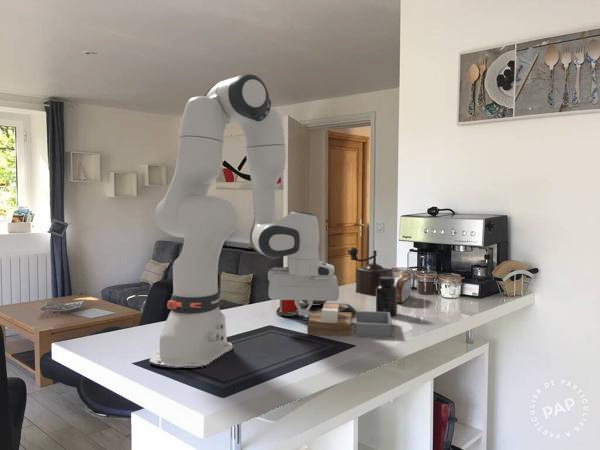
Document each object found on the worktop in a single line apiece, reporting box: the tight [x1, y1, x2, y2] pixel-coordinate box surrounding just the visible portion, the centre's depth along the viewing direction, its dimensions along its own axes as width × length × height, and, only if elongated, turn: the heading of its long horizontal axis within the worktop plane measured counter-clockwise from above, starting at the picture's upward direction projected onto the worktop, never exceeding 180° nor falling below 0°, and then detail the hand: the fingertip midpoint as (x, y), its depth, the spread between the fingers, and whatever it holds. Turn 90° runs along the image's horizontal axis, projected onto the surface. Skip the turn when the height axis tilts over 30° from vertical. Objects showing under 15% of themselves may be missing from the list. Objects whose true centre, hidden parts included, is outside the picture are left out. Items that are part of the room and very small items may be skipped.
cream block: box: [321, 307, 338, 323], centre depth 142 cm, size 4×4×3 cm
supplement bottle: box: [375, 276, 398, 317], centre depth 160 cm, size 7×7×12 cm
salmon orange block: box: [322, 303, 340, 316], centre depth 147 cm, size 4×4×3 cm
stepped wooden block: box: [306, 310, 353, 337], centre depth 145 cm, size 14×12×3 cm
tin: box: [395, 275, 413, 304], centre depth 179 cm, size 15×3×8 cm, turn 154°
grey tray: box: [355, 310, 394, 338], centre depth 143 cm, size 14×10×4 cm
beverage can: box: [279, 300, 298, 313], centre depth 159 cm, size 6×6×12 cm
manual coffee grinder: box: [347, 246, 393, 297], centre depth 191 cm, size 16×11×18 cm
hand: (303, 315), depth 143 cm, fingers closed
